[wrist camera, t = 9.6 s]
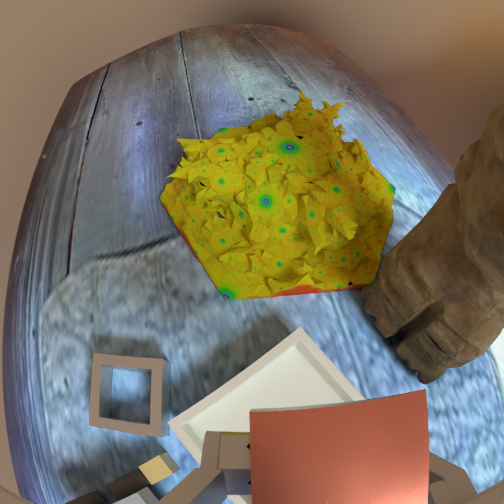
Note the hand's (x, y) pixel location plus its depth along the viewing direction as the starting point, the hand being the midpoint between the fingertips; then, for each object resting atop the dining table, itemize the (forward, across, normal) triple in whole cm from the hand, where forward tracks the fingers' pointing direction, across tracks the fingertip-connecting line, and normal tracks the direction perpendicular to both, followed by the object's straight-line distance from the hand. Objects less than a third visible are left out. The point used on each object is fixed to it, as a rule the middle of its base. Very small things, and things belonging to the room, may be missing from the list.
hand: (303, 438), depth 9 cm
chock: (+9, +10, +16) cm, 21 cm away
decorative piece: (+31, -3, -5) cm, 31 cm away
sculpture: (+18, -15, +6) cm, 24 cm away
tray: (+12, 0, +13) cm, 17 cm away
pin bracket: (+14, +13, +11) cm, 22 cm away
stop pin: (+4, 0, +4) cm, 6 cm away
